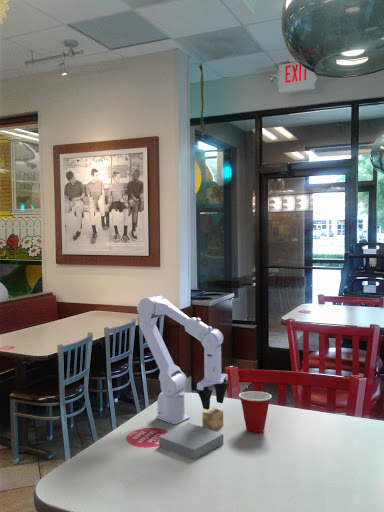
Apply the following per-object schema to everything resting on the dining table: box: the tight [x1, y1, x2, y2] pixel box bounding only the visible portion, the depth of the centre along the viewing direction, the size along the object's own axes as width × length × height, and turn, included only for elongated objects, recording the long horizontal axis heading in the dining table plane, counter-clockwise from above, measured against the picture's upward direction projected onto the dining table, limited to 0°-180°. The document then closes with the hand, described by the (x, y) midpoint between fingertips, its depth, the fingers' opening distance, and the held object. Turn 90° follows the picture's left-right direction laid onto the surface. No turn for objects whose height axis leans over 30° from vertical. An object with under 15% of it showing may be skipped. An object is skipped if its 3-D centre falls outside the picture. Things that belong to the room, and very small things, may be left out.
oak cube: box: [202, 407, 224, 431], centre depth 161 cm, size 5×5×5 cm
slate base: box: [158, 422, 224, 461], centre depth 146 cm, size 14×14×3 cm
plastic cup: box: [238, 390, 273, 434], centre depth 157 cm, size 11×11×12 cm
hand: (213, 405), depth 160 cm, fingers open, 7 cm apart
